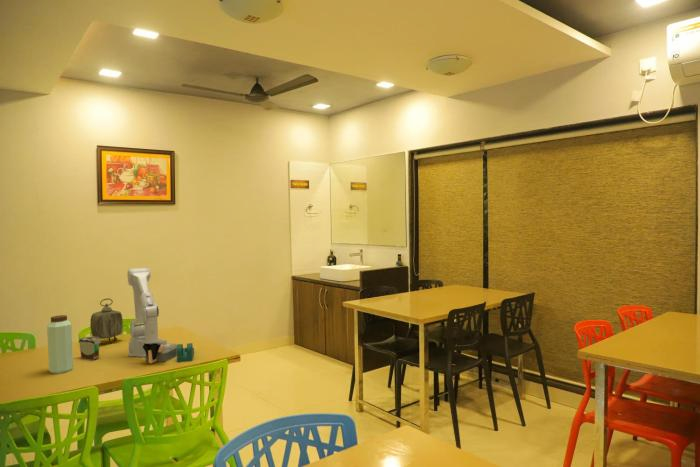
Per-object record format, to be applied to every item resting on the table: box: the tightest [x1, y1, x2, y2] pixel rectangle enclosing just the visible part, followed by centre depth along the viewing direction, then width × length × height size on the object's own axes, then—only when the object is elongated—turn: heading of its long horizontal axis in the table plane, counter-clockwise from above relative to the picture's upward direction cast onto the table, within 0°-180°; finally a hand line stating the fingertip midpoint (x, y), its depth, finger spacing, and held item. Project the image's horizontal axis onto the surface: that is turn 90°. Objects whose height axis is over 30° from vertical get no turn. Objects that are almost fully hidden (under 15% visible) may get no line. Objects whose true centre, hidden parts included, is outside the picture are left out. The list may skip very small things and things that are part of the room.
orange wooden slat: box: [148, 345, 164, 364], centre depth 228 cm, size 10×2×6 cm, turn 169°
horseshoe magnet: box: [145, 342, 177, 363], centre depth 233 cm, size 13×10×6 cm
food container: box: [78, 336, 102, 361], centre depth 236 cm, size 12×6×10 cm, turn 65°
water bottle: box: [46, 314, 74, 375], centre depth 216 cm, size 10×10×25 cm
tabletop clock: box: [89, 297, 124, 345], centre depth 264 cm, size 14×9×25 cm, turn 144°
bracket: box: [176, 342, 195, 363], centre depth 235 cm, size 18×7×8 cm, turn 14°
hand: (152, 359), depth 225 cm, fingers closed on orange wooden slat, 2 cm apart
